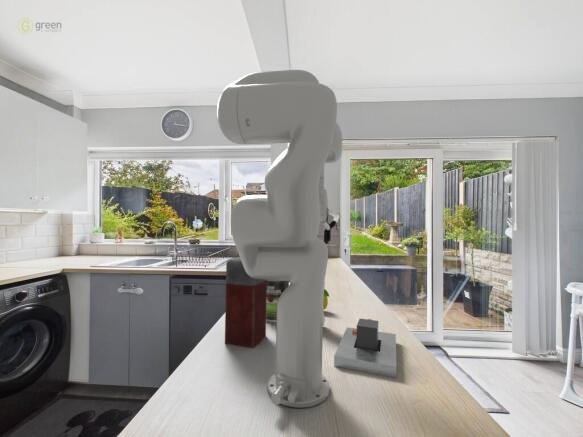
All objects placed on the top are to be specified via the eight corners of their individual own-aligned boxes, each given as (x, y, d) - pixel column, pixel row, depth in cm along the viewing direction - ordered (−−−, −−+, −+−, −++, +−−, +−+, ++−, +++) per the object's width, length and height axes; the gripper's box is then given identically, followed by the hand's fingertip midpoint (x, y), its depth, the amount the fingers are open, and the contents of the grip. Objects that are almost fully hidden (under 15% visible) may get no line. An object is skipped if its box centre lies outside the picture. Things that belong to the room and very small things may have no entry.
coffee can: (284, 323, 96) (285, 282, 96) (255, 320, 99) (256, 280, 99) (291, 314, 106) (292, 276, 106) (265, 311, 109) (266, 274, 109)
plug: (376, 360, 71) (376, 328, 71) (356, 356, 73) (356, 325, 73) (378, 346, 80) (379, 317, 80) (360, 343, 81) (360, 315, 81)
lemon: (329, 314, 106) (329, 287, 106) (313, 314, 107) (313, 287, 107) (327, 309, 113) (328, 284, 113) (313, 308, 113) (313, 283, 114)
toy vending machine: (269, 333, 87) (270, 242, 88) (253, 348, 77) (255, 244, 77) (243, 329, 90) (244, 241, 91) (224, 343, 80) (226, 243, 80)
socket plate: (396, 377, 63) (396, 363, 63) (334, 366, 68) (334, 353, 68) (395, 342, 82) (395, 331, 82) (346, 335, 87) (346, 325, 87)
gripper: (279, 184, 84) (278, 242, 83) (337, 182, 78) (337, 245, 77) (288, 187, 91) (287, 241, 90) (342, 186, 85) (341, 243, 85)
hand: (310, 242), depth 84 cm, fingers open, 9 cm apart
